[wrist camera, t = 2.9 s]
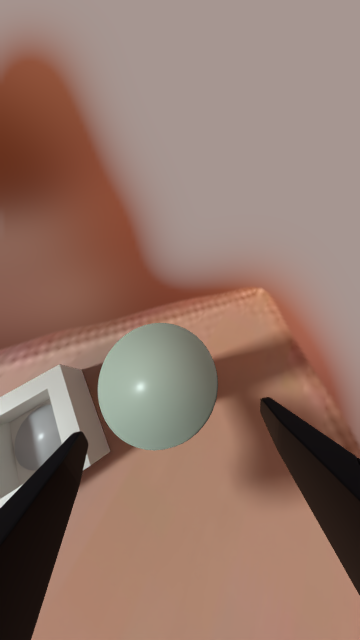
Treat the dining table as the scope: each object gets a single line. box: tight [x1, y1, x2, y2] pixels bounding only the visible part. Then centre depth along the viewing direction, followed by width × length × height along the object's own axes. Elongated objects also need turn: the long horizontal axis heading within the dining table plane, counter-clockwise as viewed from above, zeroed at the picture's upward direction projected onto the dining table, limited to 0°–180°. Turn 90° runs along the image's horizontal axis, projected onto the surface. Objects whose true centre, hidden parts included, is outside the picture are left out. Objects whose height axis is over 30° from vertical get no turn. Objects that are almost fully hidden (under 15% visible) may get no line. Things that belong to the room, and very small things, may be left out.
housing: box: [0, 364, 111, 508], centre depth 15 cm, size 9×9×4 cm
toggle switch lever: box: [98, 323, 218, 450], centre depth 12 cm, size 4×4×13 cm
